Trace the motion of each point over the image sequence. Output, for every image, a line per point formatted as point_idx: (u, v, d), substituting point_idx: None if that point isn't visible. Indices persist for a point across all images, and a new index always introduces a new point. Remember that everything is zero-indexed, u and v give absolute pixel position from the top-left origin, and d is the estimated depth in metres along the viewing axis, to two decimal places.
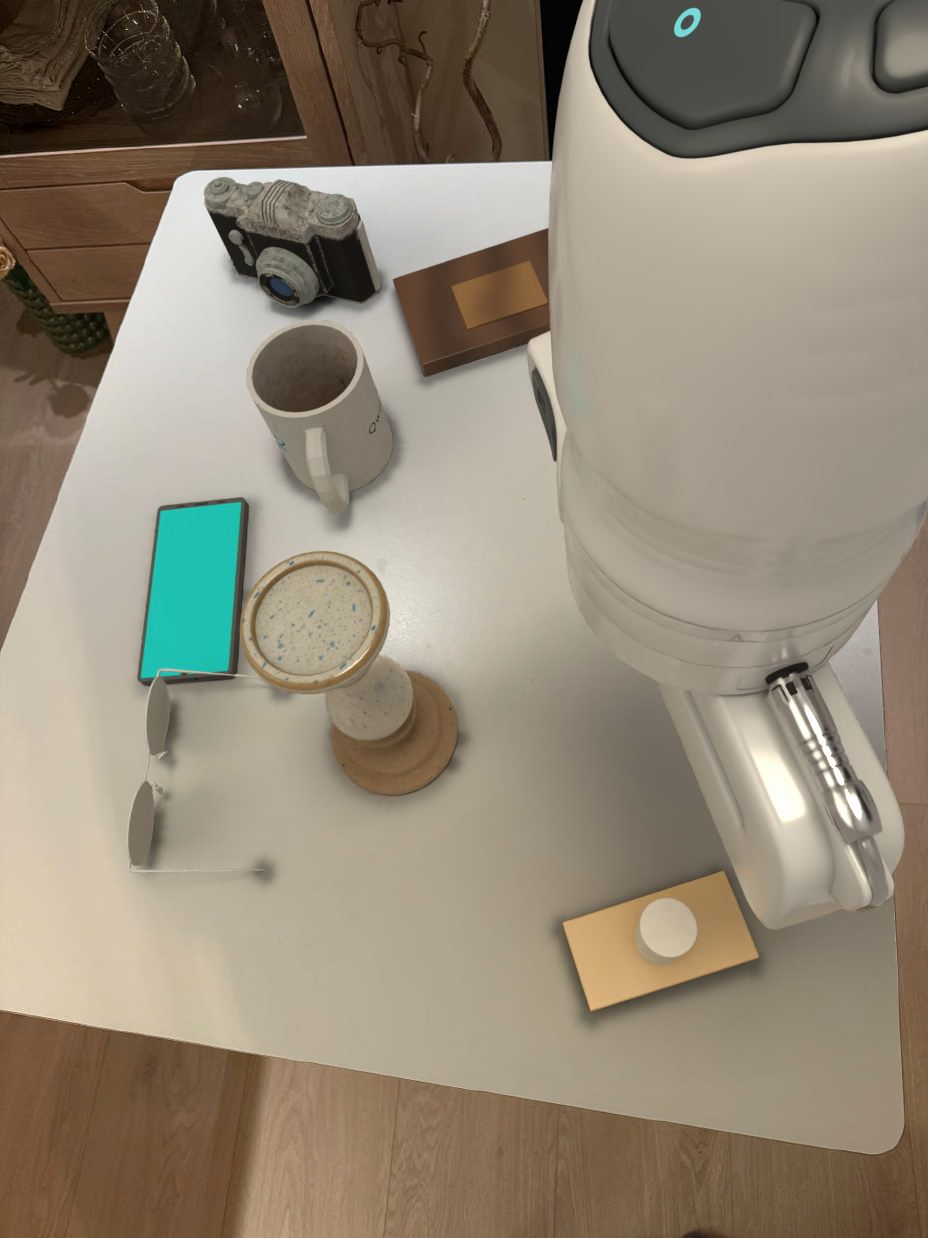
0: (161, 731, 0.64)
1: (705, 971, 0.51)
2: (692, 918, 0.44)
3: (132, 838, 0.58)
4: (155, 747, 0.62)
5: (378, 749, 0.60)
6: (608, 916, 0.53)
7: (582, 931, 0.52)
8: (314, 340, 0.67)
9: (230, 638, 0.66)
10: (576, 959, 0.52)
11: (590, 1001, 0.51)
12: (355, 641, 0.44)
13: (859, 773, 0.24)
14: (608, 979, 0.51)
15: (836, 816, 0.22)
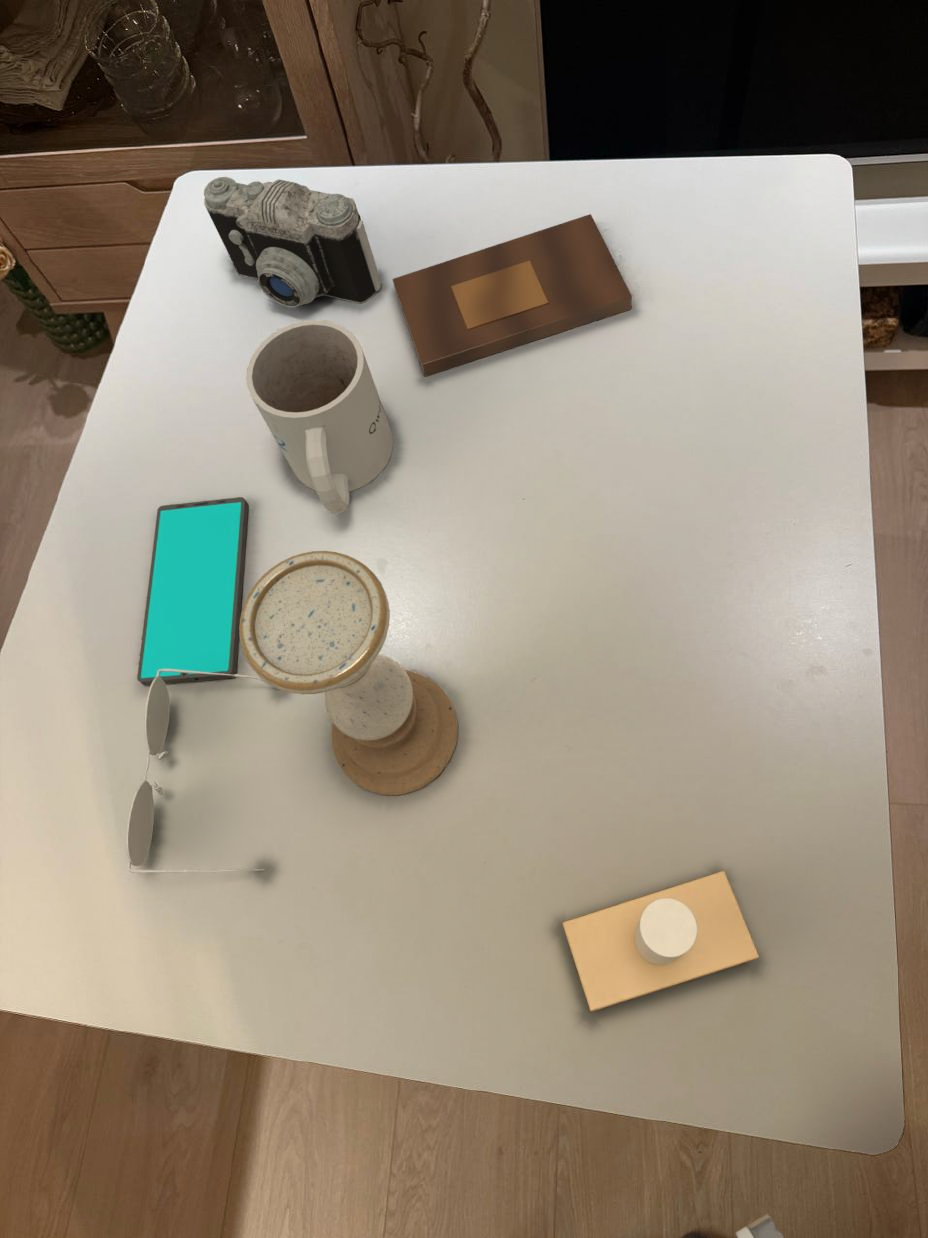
0: (161, 731, 0.64)
1: (705, 971, 0.51)
2: (692, 918, 0.44)
3: (132, 838, 0.58)
4: (155, 747, 0.62)
5: (378, 749, 0.60)
6: (608, 916, 0.53)
7: (582, 931, 0.52)
8: (314, 340, 0.67)
9: (230, 638, 0.66)
10: (576, 959, 0.52)
11: (590, 1001, 0.51)
12: (354, 641, 0.44)
13: None
14: (608, 979, 0.51)
15: None
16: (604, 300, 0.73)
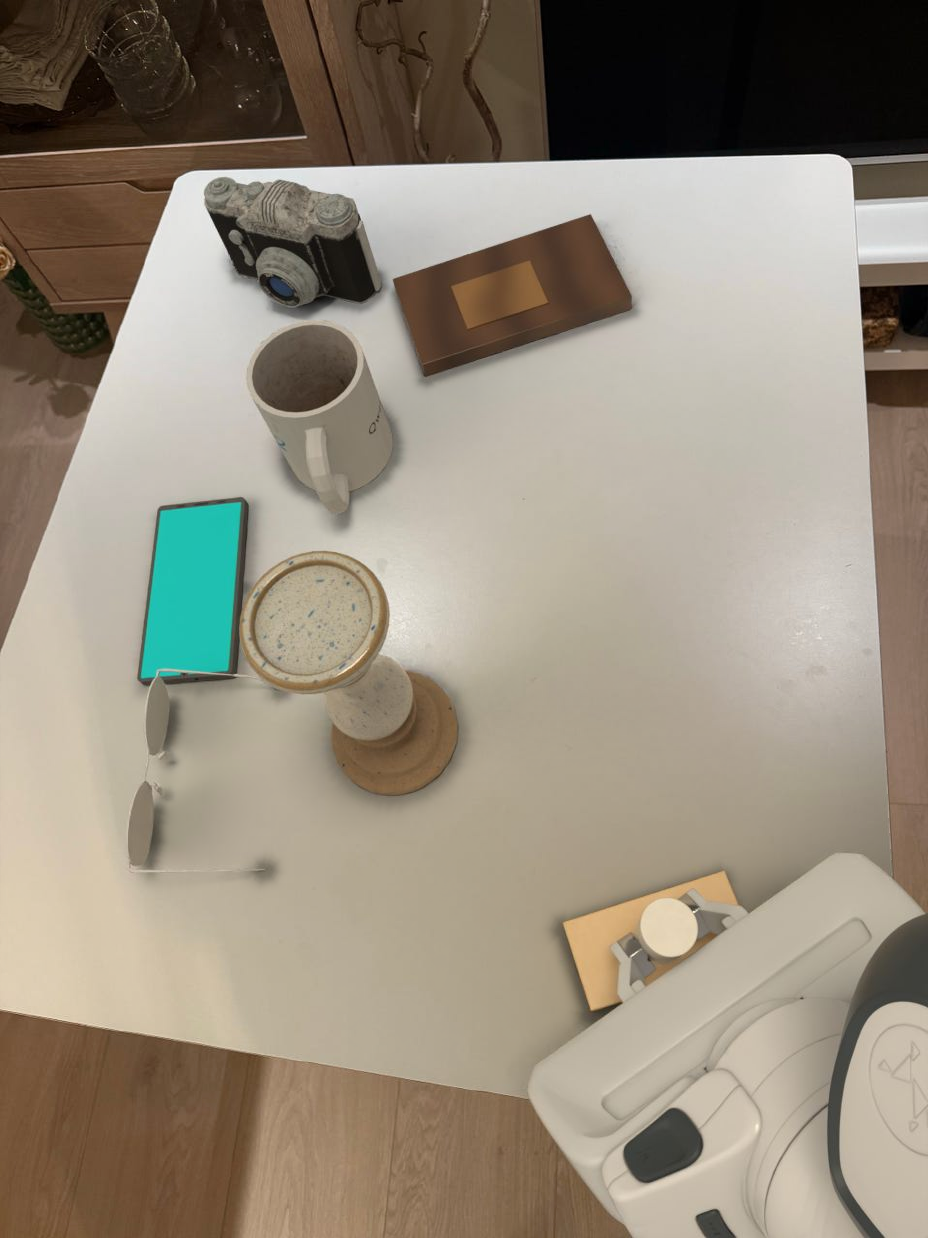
0: (160, 731, 0.64)
1: None
2: (693, 918, 0.44)
3: (132, 838, 0.58)
4: (154, 747, 0.62)
5: (378, 749, 0.60)
6: (608, 916, 0.52)
7: (582, 931, 0.52)
8: (314, 340, 0.67)
9: (230, 638, 0.66)
10: (577, 959, 0.52)
11: (590, 1001, 0.51)
12: (354, 641, 0.44)
13: None
14: (608, 978, 0.51)
15: None
16: (604, 300, 0.73)
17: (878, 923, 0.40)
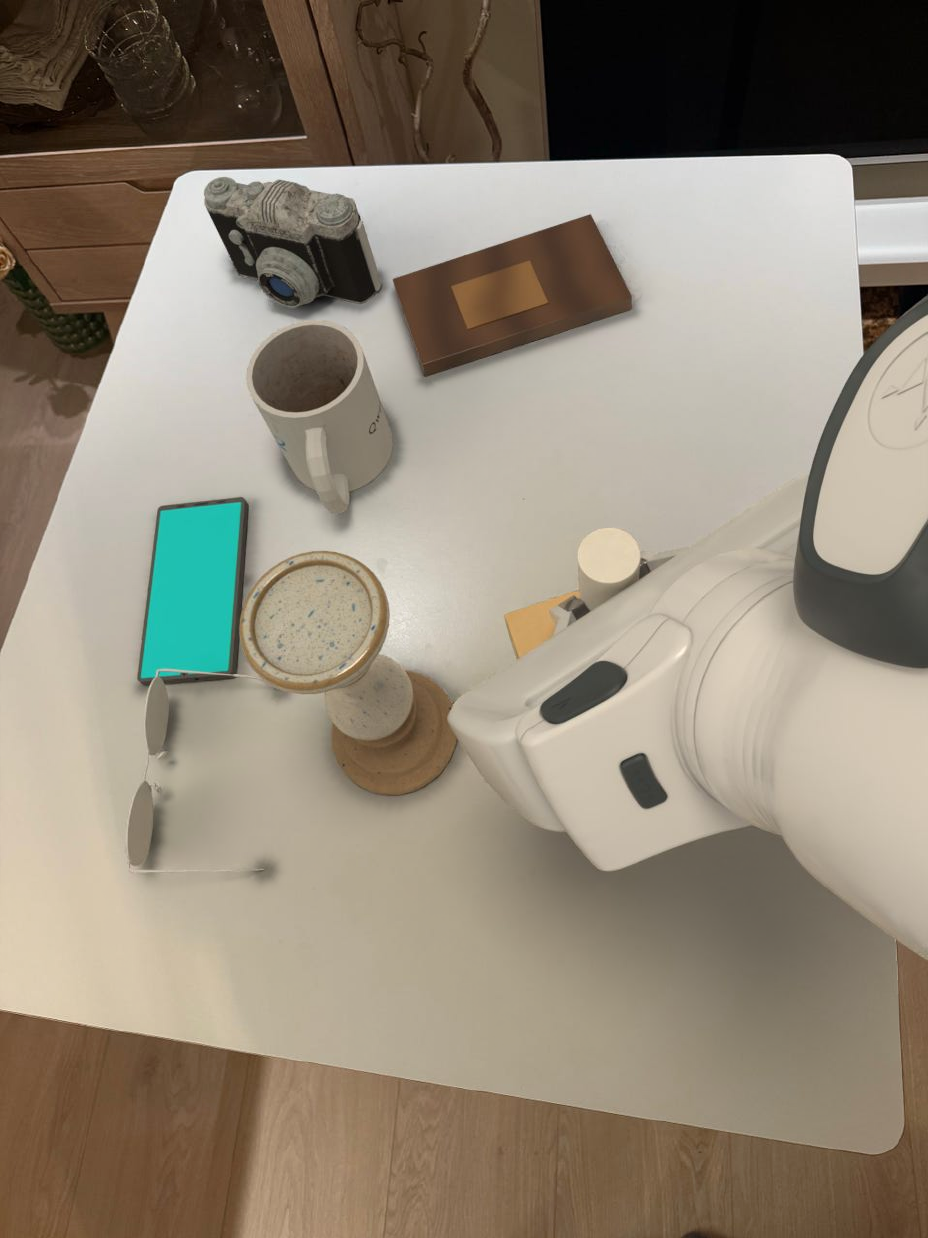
0: (160, 731, 0.64)
1: None
2: (635, 544, 0.40)
3: (131, 838, 0.58)
4: (154, 747, 0.62)
5: (378, 749, 0.60)
6: (553, 605, 0.48)
7: (525, 621, 0.48)
8: (314, 340, 0.67)
9: (230, 638, 0.66)
10: (518, 648, 0.47)
11: None
12: (354, 641, 0.44)
13: None
14: None
15: None
16: (604, 300, 0.73)
17: None
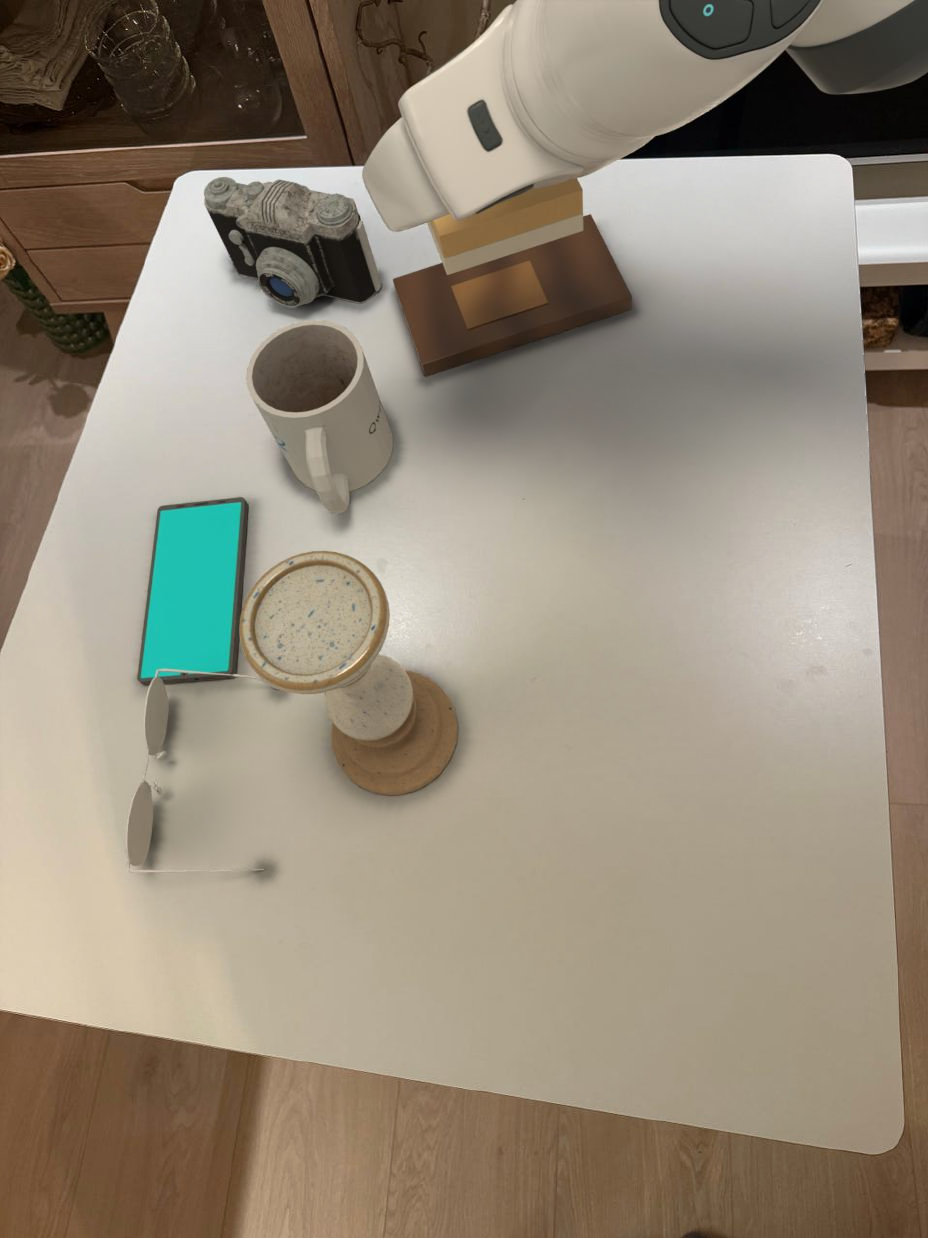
0: (159, 731, 0.64)
1: (536, 201, 0.60)
2: None
3: (131, 838, 0.58)
4: (154, 747, 0.62)
5: (378, 749, 0.60)
6: None
7: None
8: (314, 340, 0.67)
9: (230, 638, 0.66)
10: None
11: (439, 229, 0.60)
12: (354, 641, 0.44)
13: None
14: None
15: None
16: (604, 300, 0.73)
17: None
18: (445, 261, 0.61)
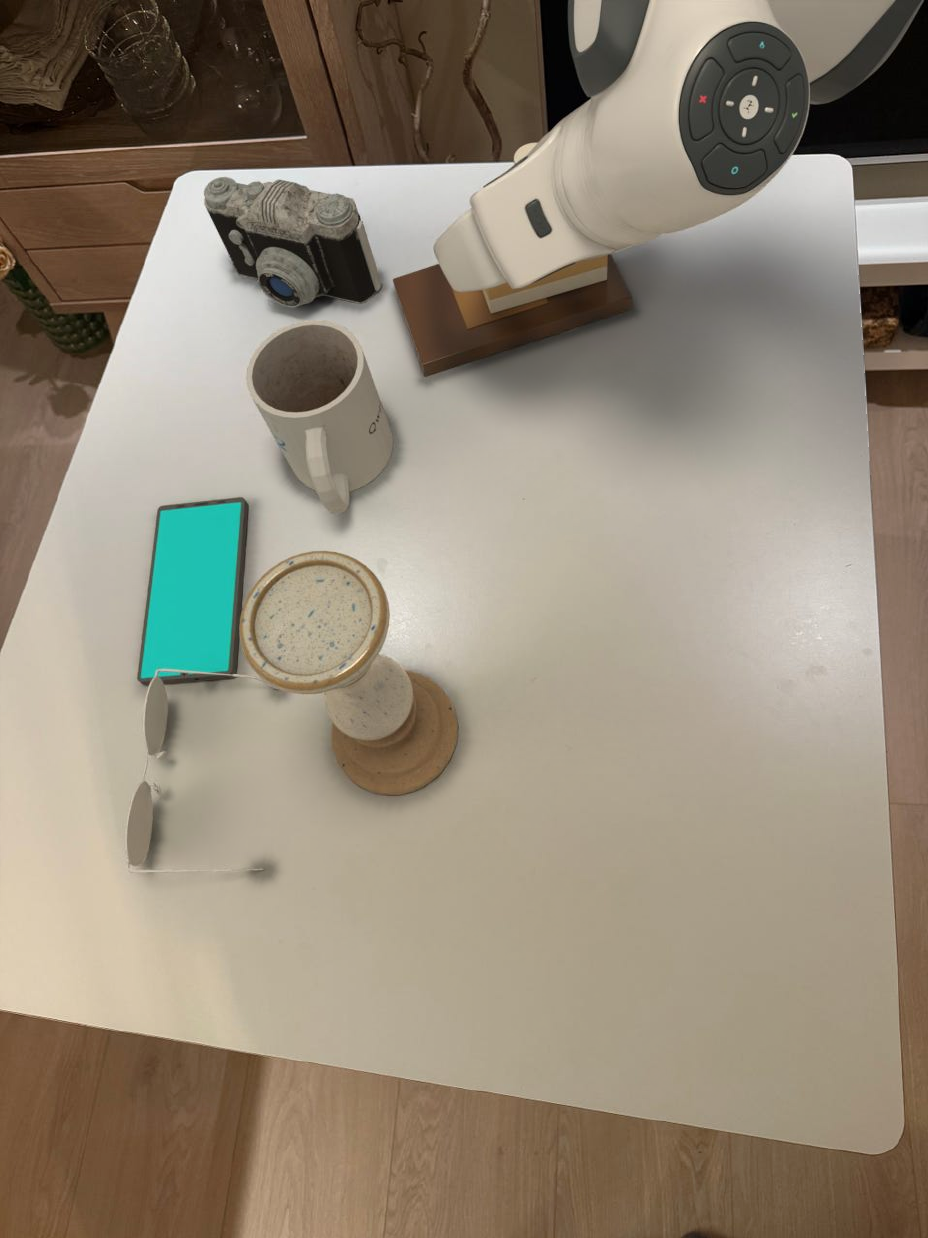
0: (159, 731, 0.64)
1: None
2: None
3: (131, 838, 0.58)
4: (153, 747, 0.62)
5: (378, 749, 0.60)
6: None
7: None
8: (314, 340, 0.67)
9: (230, 638, 0.66)
10: None
11: None
12: (354, 641, 0.44)
13: None
14: None
15: None
16: (604, 300, 0.73)
17: None
18: (490, 302, 0.73)
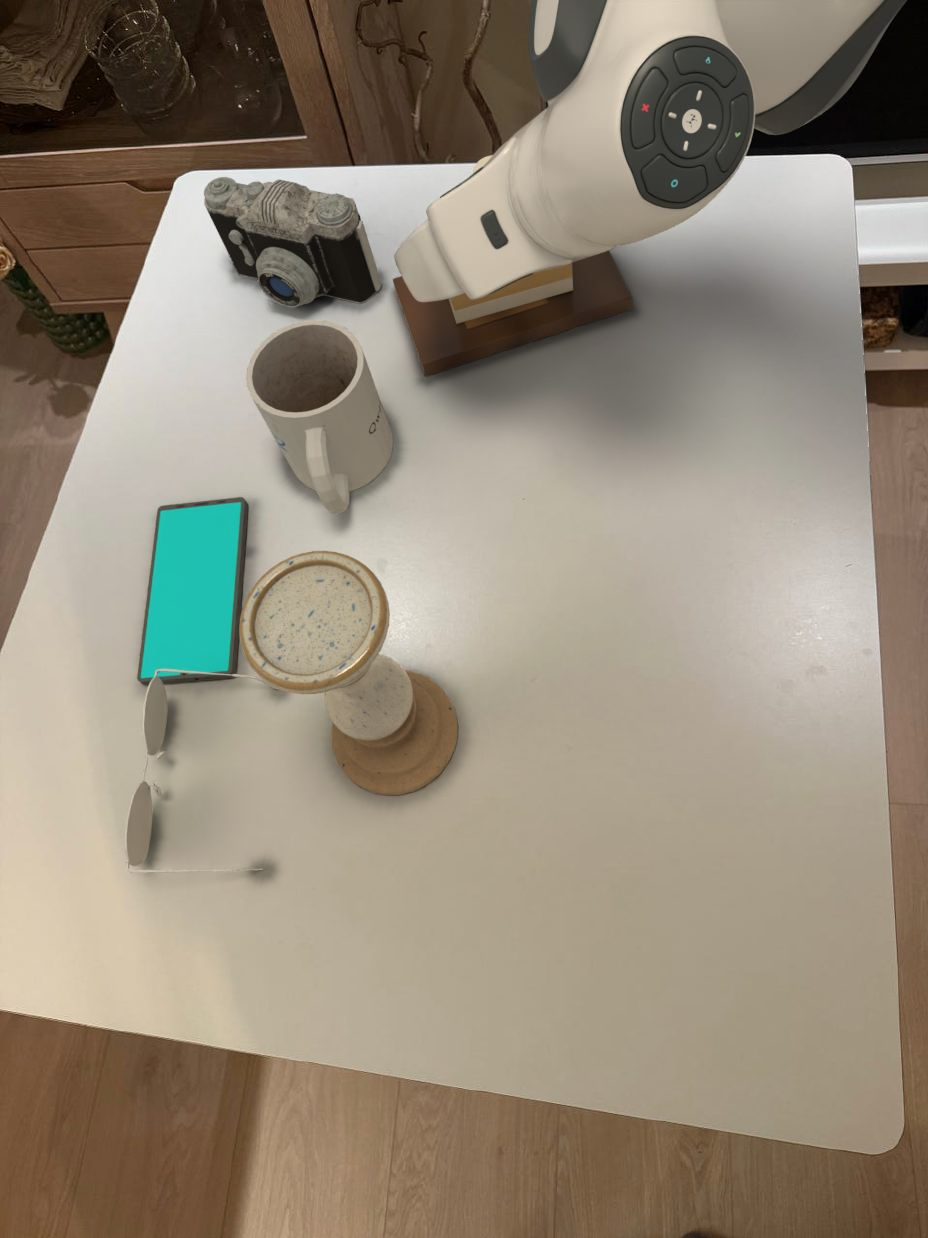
0: (159, 731, 0.64)
1: None
2: None
3: (131, 838, 0.58)
4: (153, 747, 0.62)
5: (378, 749, 0.60)
6: None
7: None
8: (314, 340, 0.67)
9: (230, 638, 0.66)
10: None
11: None
12: (354, 641, 0.44)
13: None
14: None
15: None
16: (604, 300, 0.73)
17: None
18: (455, 313, 0.73)
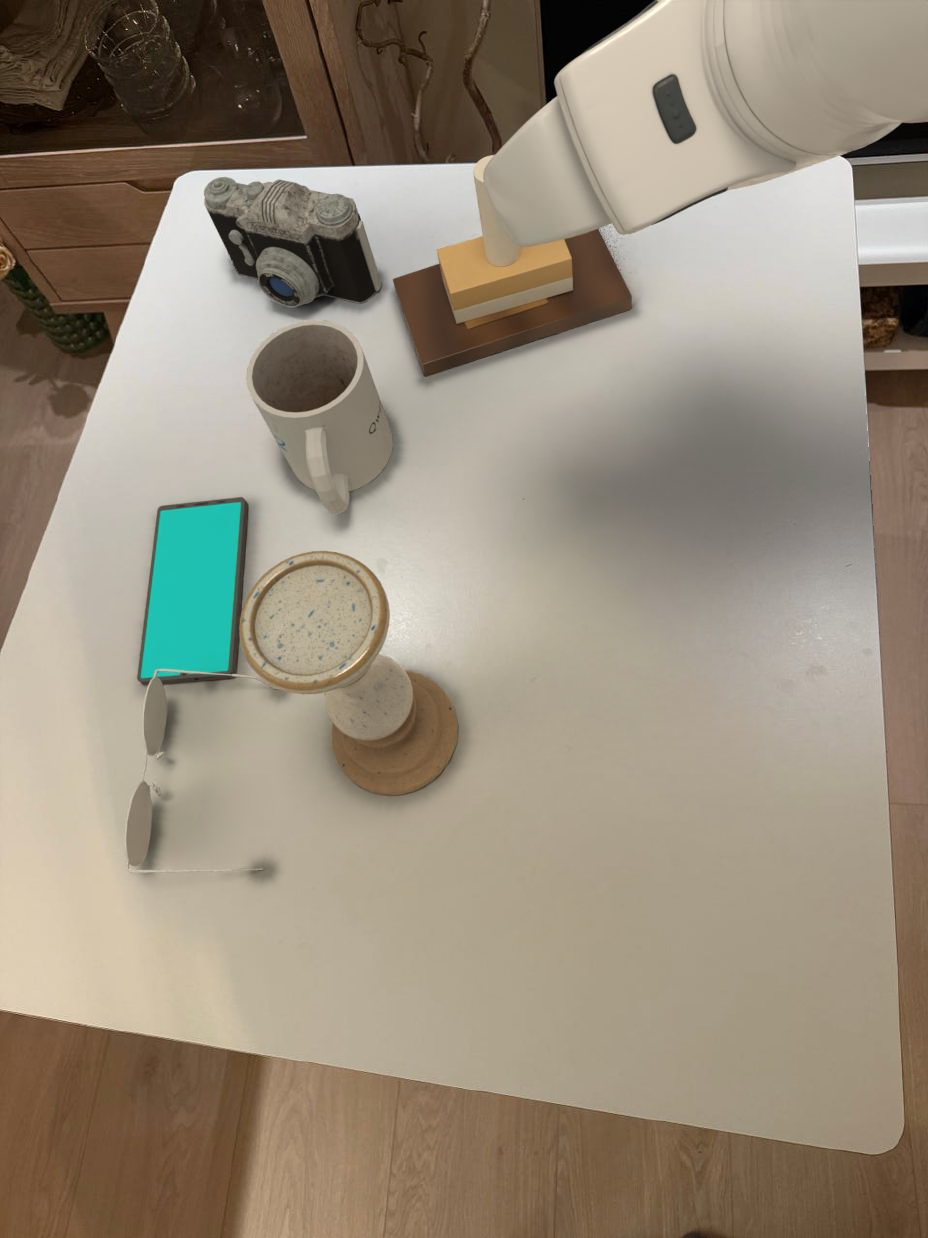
0: (158, 731, 0.64)
1: (533, 267, 0.71)
2: None
3: (130, 838, 0.58)
4: (152, 747, 0.62)
5: (378, 749, 0.60)
6: (469, 243, 0.73)
7: (450, 252, 0.73)
8: (314, 340, 0.67)
9: (230, 638, 0.66)
10: (444, 267, 0.72)
11: (450, 288, 0.71)
12: (354, 641, 0.44)
13: None
14: (465, 275, 0.72)
15: None
16: (604, 300, 0.73)
17: None
18: (455, 313, 0.73)
